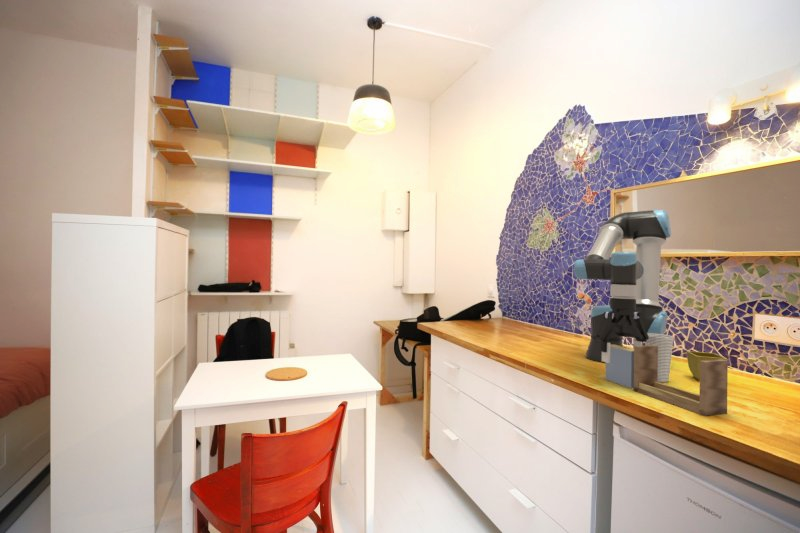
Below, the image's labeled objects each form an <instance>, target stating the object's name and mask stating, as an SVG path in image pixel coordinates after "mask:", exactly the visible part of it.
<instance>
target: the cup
mask: <svg viewBox="0 0 800 533" xmlns="http://www.w3.org/2000/svg"><path fill="white" fill-rule="evenodd" d="M647 334H648V337H649V339H648V340H647V341H646V342H644V345H656V346H658V382H659V383H668V382H669V380H670V372H671V363H672V354H673V348H674V347H673V345H674V336H673V335H669V334H665V333H664V334H654V333H647Z"/></svg>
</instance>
